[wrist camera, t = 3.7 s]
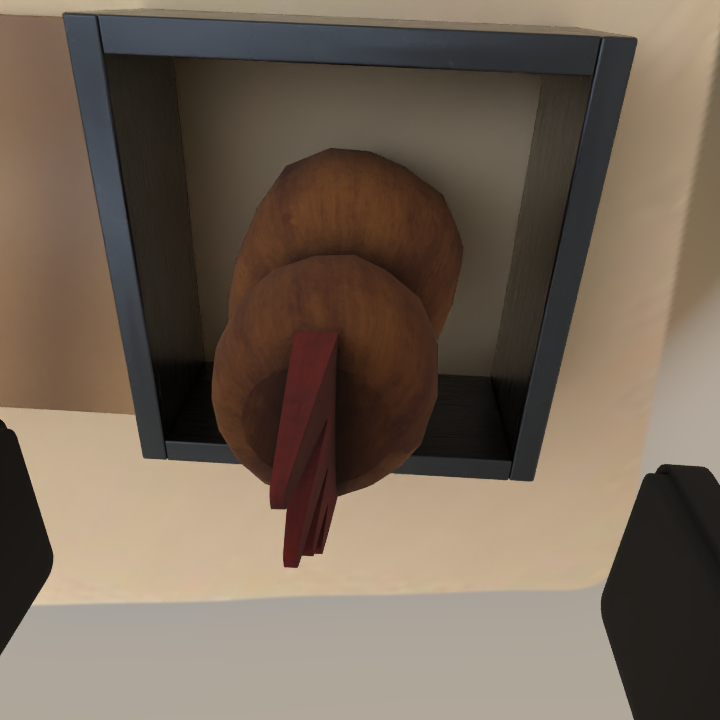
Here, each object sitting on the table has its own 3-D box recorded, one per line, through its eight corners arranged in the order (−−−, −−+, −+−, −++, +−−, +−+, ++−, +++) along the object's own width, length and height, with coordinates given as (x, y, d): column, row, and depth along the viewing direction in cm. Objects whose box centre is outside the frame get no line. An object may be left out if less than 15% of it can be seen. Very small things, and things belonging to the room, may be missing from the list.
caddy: (187, 377, 24) (142, 459, 20) (141, 8, 18) (60, 12, 14) (508, 395, 24) (534, 482, 20) (579, 27, 18) (639, 37, 13)
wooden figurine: (305, 95, 19) (111, 312, 6) (474, 169, 20) (630, 501, 7) (242, 284, 22) (29, 688, 9) (390, 340, 23) (386, 782, 10)
